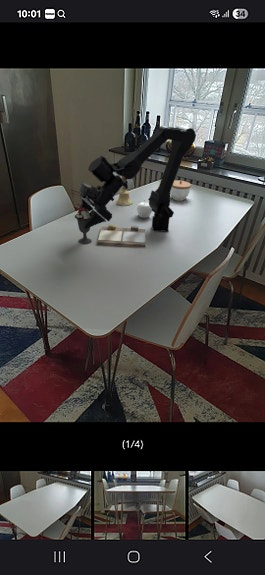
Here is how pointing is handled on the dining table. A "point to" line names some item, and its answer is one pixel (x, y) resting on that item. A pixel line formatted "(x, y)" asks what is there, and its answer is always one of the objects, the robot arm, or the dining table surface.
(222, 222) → the dining table surface
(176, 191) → the lidded jar
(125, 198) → the hand bell
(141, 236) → the board
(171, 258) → the dining table surface
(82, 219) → the sundae
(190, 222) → the dining table surface
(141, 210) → the plain white apple
